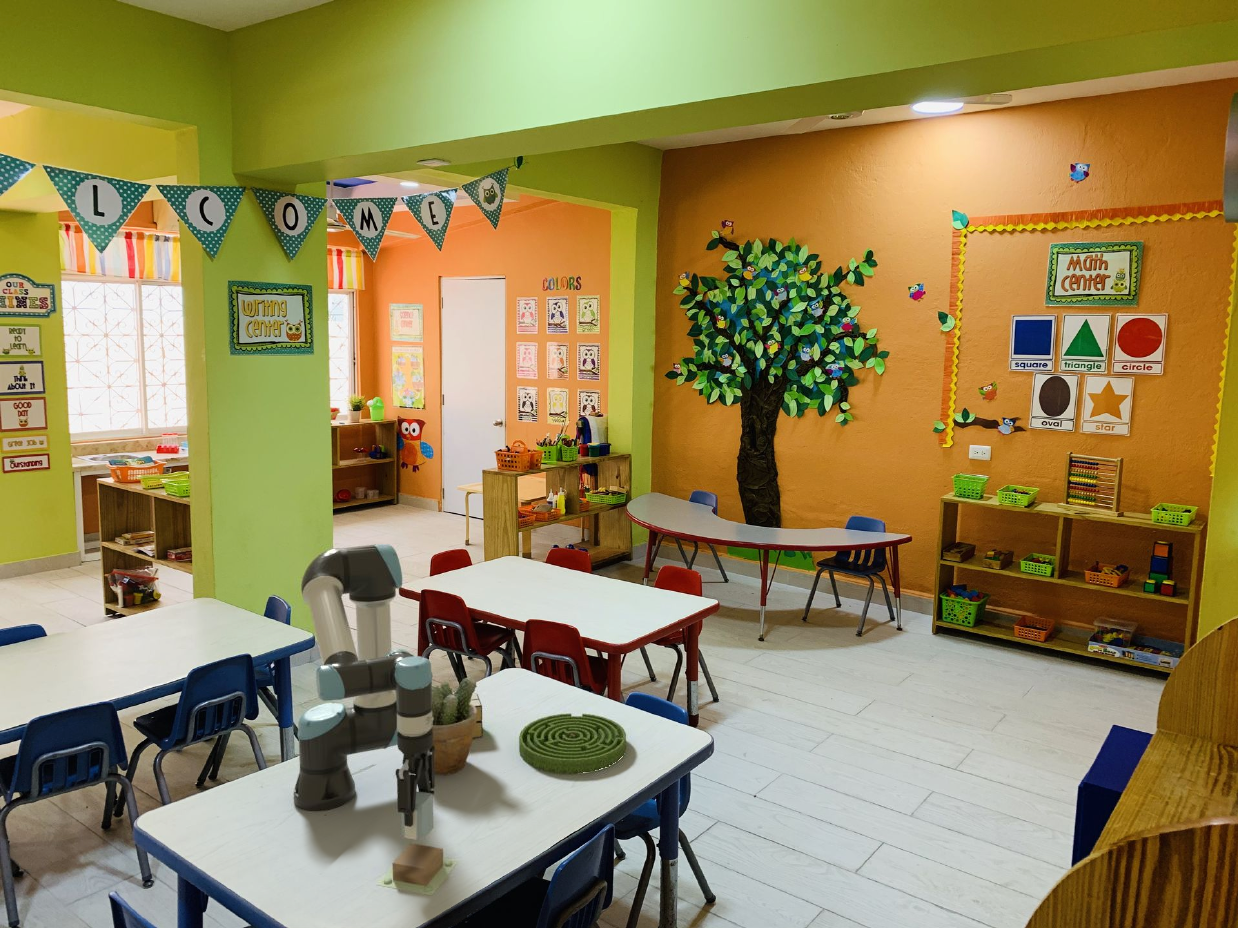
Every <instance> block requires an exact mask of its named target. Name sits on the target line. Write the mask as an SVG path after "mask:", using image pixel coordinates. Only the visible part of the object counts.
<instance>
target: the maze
mask: <svg viewBox="0 0 1238 928" xmlns="http://www.w3.org/2000/svg"><path fill="white" fill-rule="evenodd" d="M626 748H627V734H626V731H625V729H624V728H623V727H622V726H621V725H620V724H619V723H618V722H615V721H614V720H613V719H609V718H607V717H604V716H600V715H597V714H596V715H595V714H590V713H588V714H587V713H582V714H581V716H580V715H579V716H577V715H574V716H573V715H572V713H558V714H553V715H549V716H544V717H541V718H538V719H536V720H534V721H532V722H530V723H528V724H527V725H526V726H524V727H523V729H522V730H521V731H520V733H519V737H518V749H519V750H518V751H519V757H520V758H521V759H522V760H523V761H524V763H526V764H528V765H529V766H530V767H532V768H535V769H538V770H540V771H542V772H543V771H544V772H547V773H550V772H552V774H558V773H559V775H578V774H577V773H583V772H591V771H595V770H599V769H601V768H605V767H609V765H612V764H613V763H615V762H617V761H618V760H619V759H620V758H621V757H622V756H623V755H624V753H625V751H627V749H626ZM625 754H626V753H625ZM624 756H625V755H624ZM624 756H623V757H624ZM612 766H613V765H612ZM609 768H610V767H609ZM591 773H592V772H591Z"/></svg>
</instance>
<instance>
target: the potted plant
mask: <svg viewBox="0 0 1238 928" xmlns="http://www.w3.org/2000/svg"><path fill="white" fill-rule="evenodd" d="M476 689H477V681H476V680H474V679H473V678H472V677H464V678H463V679H462V681H461V682H460V685H458V687H457V689H456V691H454V692H453V691H452V690H453V688H452V687H450V685H449V682H445V681H444V682H442V683H441V684H440V687H439V685H437V684H435V683H432V717H433V718H434V720H433V721H432V722H433V726H432V729H433V745H434V746H435V752H434V773H435V775H437V776H439V775H440V776H445V775H446V776H447V775H451V774H455V773H457V772H459V771H461V770H462V769H464V767H465V765H466V763H467V759H468V757H469V752H470V749H471V746H472V742H473V739H474V738H473V732H474V729H475V727H476V720H477V709H476V707H475V706H474V705H472V704H470V702H471V701H470V699H471V697H472V694H475V691H476Z"/></svg>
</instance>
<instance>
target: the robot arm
mask: <svg viewBox="0 0 1238 928" xmlns="http://www.w3.org/2000/svg"><path fill="white" fill-rule="evenodd" d="M401 567H402V566H401V562H400V559H399V555H398V554H397V550H396V549H395V548H394V547H393V546H392V545H390V544H367V545H361V546H360V545H359V546H351V547H341V548H340V547H337V548H332V549H328V550H325V551H323V552H321V553H320V554H318V556H316V557H315V558H314V559H313V560H312V561H311V562H310V564H309V565H307V568H306V570H305V571H304V574H303V576H302V578H301V579H302V581H301V589H300V590H301V594H302V598H303V602H304V603H305V604H306V605H308V606H309V611H310V614H311V619H312V623H313V627H314V633H315V637H316V641H317V646H318V651H319V655H320V659H321V664H322V665H320V666H319V667H317V669H316V672H315V682H316V683H315V684H316V691H317V696H318V698H319V700H321V701H325V702H326V701H339V700H340V701H341V700H343V699H344V700H345V699H348V698H353V702H352V703H353V706H352V707H350V708H348V707H347V708H346V706H345V705H344V704H343V703H341V702H335V703H334V702H326V703H321V704H319V705H315V706H313V707H310V708H308V709H307V710H306V711H305V712H303V713H302V714H301V715H300V717H299V719H298V725H297V726H298V731H297V738H298V750H299V751H298V753H299V754H298V755H299V759H298V760H299V772H298V776H297V780H296V782H295V785H294V786H295V787H294V789H293V802H294V804H295V806H296V807H298V808H299V809H303V810H307V811H314V812H315V811H327V810H331V809H335V808H337V807H342V805H345V804H347V803H349V801H351V800H352V799H353V798H354V796H355V795H356V783H355V779H354V778H353V776H352V773H351V769H350V766H349V765H348V756H350V755H354V754H360V753H366V752H370V751H371V752H372V751H377V750H382V749H384V750H386V749H389V748H390V747H395V746H397V749H398V751H400V752H401V753H402V754H403V757H402V766H401V768H396V769H395V777H396V785H397V786H396V787H397V792H396V793H397V796H396V797H397V813H404V826H405V837H404V838H405V839H410V840H418V839H417V838H418V827H417V810H416V809H415V802H416V791H417V790H418V791H417V792H424V793H431V794H433V796H434V795H435V791H434V789H435V786H436V780H435V779H436V778H435V777H436V776H435V775H436V774H435V773H434V752H435V746H434V745H433V729H432V726H433V722H432V721H433V720H434V718H433V717H432V684H433V672H432V664H431V661H430V659H428V658H427V657H423V656H419V655H417V656H416V655H414V654H412V653H410V651H408V650H406V649H402V648H400V649H399V648H397V649H394V650H392V626H391V625H392V624H391V623H392V622H391V619H392V618H391V602H392V601H393V600H394V599H395V598H396V595H397V593H396V589H397V590H399V589H400V588H402V587H403V573H402V568H401ZM347 594H349V595H348V598H349V601H351V602H352V603H353V605H355V615H356V616H355V617H356V618H355V620H356V622H355V623H356V642H357V643H356V645H357V646H356V647H357V650H356V647H355V642H354V639H353V635H352V632H351V628H350V625H349V620H348V618H347V617H348V616H347V613H346V610H345V605H344V602H343V601H344V600H343V599H342V598H343V597H342V596H343V595H347Z"/></svg>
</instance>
